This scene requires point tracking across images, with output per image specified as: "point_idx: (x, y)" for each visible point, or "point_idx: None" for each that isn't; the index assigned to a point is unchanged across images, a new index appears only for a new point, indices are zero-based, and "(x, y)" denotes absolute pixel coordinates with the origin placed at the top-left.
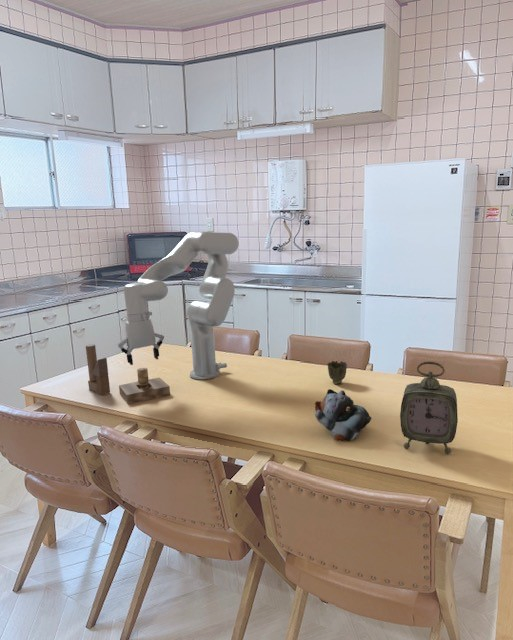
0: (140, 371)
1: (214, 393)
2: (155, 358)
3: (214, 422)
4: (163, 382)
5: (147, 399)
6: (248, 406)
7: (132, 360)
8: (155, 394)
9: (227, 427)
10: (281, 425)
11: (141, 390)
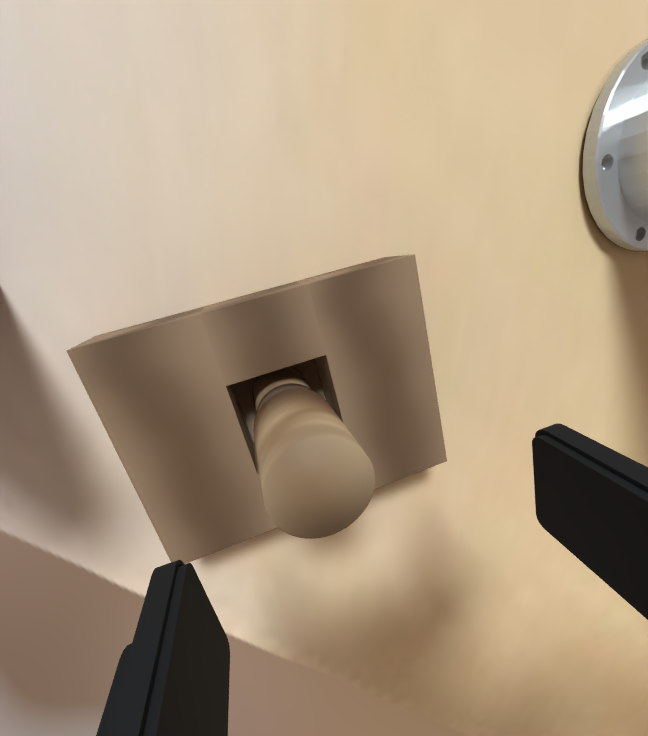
0: (300, 533)
1: None
2: (535, 484)
3: (505, 700)
4: (424, 384)
5: None
6: None
7: (226, 719)
8: None
9: (526, 726)
10: (636, 707)
11: None
